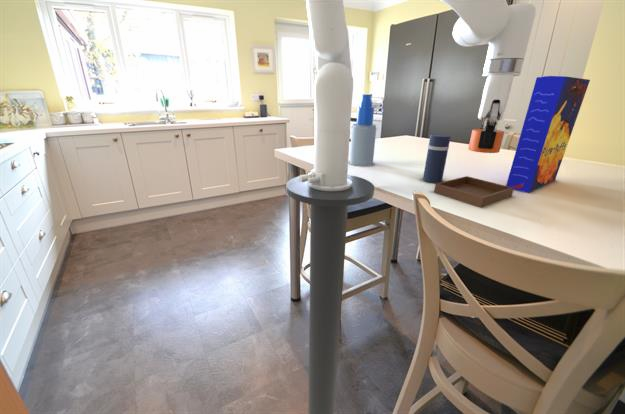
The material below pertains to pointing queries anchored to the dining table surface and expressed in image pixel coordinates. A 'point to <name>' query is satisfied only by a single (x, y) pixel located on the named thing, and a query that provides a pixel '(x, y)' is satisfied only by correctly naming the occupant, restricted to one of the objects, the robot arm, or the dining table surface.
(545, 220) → the dining table surface
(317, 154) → the robot arm
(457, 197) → the tray
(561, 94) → the cereal box
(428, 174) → the spray can
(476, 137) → the cap
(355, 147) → the grey and blue bottle
